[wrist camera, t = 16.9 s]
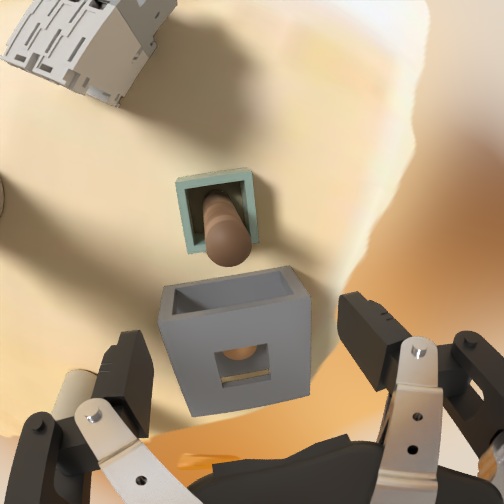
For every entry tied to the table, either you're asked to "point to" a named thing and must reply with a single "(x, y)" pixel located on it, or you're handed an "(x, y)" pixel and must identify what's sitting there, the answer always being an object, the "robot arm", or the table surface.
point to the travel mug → (73, 393)
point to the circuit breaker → (88, 43)
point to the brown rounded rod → (224, 230)
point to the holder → (244, 175)
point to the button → (240, 353)
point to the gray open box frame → (238, 339)
